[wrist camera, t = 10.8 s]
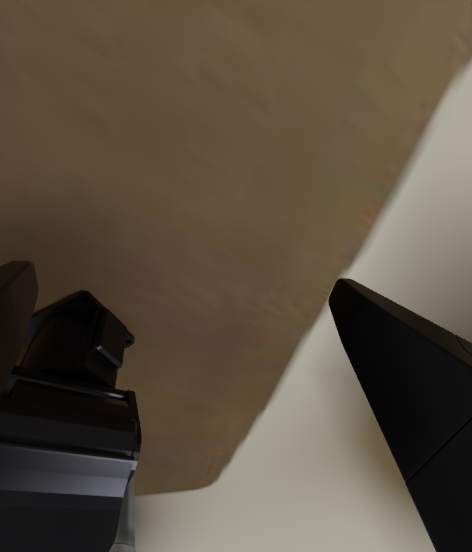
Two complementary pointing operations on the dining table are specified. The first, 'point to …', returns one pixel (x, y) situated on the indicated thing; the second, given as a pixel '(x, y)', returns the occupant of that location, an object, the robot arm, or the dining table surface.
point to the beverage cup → (126, 522)
